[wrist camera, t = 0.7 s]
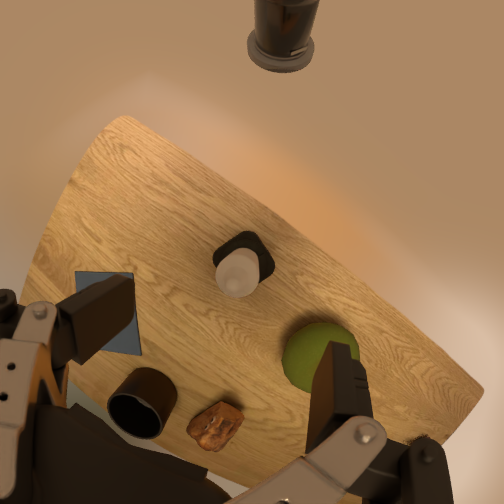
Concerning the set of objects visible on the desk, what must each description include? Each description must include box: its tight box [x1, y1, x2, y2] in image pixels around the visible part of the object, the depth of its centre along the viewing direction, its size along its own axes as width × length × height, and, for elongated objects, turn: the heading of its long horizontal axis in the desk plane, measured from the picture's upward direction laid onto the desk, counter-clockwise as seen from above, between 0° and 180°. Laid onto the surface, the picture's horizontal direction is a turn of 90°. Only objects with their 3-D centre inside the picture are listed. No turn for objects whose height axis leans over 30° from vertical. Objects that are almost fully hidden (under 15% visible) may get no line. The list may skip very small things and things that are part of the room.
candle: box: [213, 231, 275, 298], centre depth 27 cm, size 5×5×25 cm
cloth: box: [75, 271, 142, 356], centre depth 41 cm, size 14×12×1 cm
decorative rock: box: [186, 401, 244, 452], centre depth 36 cm, size 12×6×11 cm, turn 137°
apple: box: [281, 322, 360, 393], centre depth 35 cm, size 11×10×10 cm
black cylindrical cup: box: [107, 368, 177, 439], centre depth 37 cm, size 9×12×9 cm
